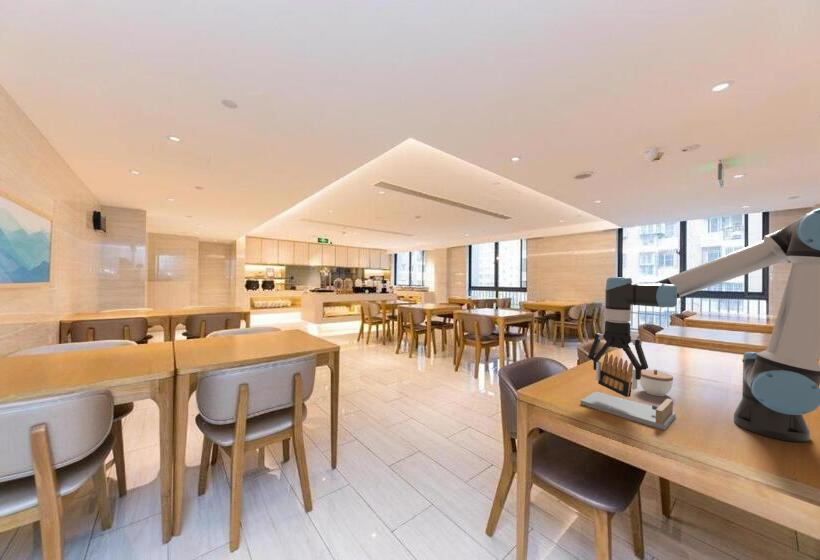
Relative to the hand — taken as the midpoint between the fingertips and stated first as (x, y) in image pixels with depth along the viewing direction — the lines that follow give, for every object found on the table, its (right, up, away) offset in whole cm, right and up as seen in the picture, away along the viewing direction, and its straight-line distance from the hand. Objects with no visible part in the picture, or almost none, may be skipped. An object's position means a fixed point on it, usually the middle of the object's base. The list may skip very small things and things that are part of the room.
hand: (615, 383), depth 110 cm
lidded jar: (+25, -9, +14) cm, 30 cm away
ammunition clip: (-1, -3, +1) cm, 3 cm away
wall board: (+2, -8, -2) cm, 9 cm away
